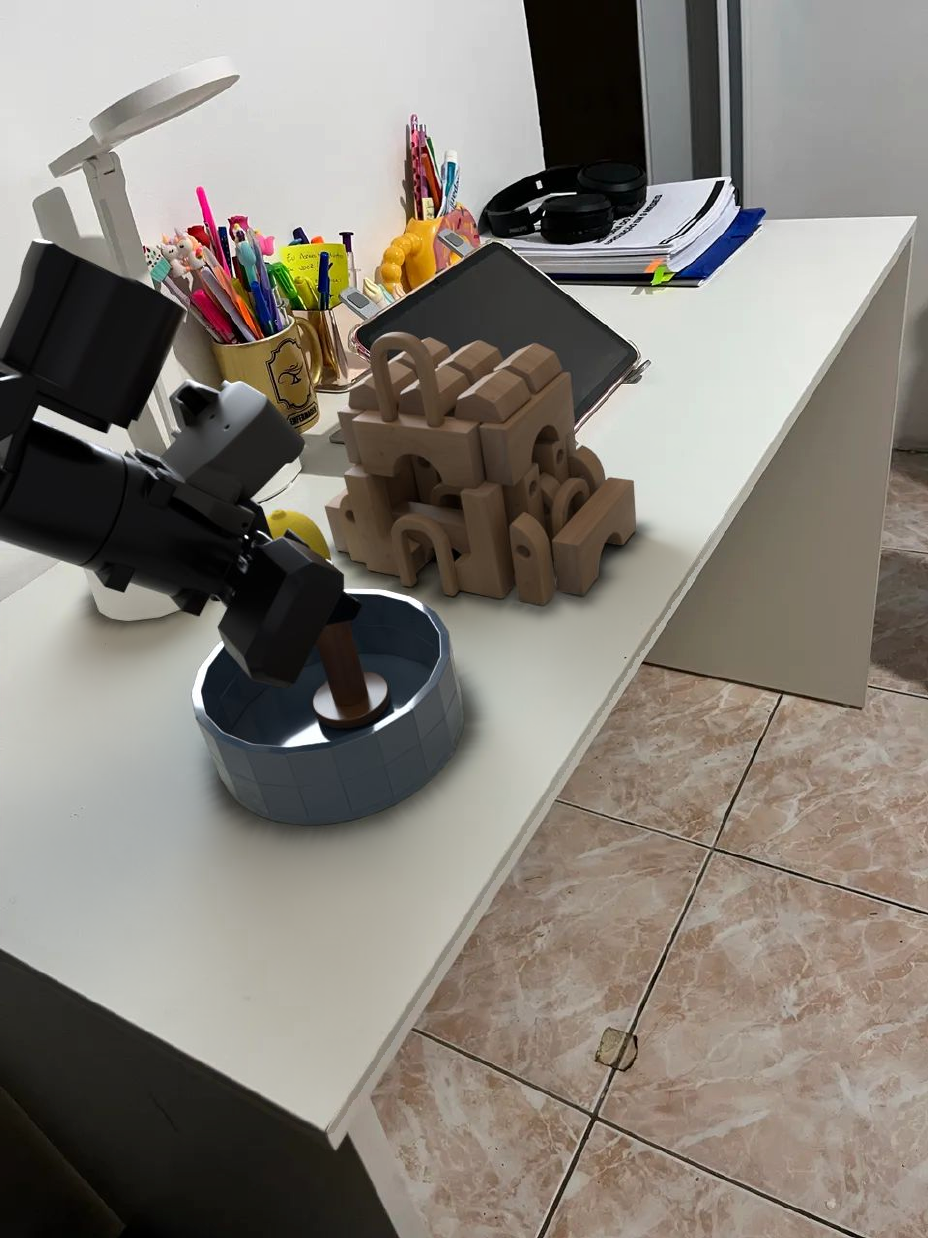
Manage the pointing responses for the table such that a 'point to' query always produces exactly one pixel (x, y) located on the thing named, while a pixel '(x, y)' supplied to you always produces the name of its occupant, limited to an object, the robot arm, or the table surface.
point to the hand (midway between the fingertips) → (347, 602)
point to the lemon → (298, 530)
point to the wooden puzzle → (474, 472)
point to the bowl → (333, 757)
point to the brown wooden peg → (346, 682)
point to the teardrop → (129, 600)
